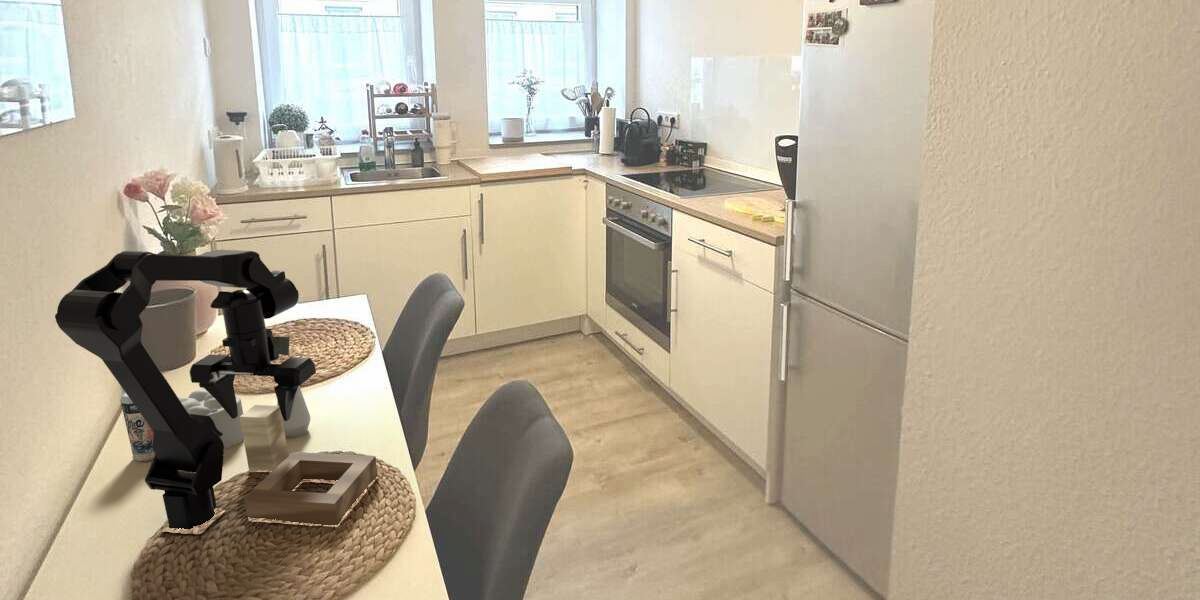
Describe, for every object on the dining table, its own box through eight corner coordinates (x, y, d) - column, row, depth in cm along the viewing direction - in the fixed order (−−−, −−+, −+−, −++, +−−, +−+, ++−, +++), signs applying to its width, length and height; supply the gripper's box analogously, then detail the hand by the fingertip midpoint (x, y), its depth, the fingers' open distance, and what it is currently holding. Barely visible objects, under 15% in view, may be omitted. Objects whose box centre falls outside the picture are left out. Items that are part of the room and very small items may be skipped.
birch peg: (274, 473, 131) (265, 417, 128) (249, 472, 132) (239, 416, 129) (289, 460, 135) (280, 405, 132) (264, 458, 136) (255, 404, 133)
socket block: (337, 528, 115) (334, 503, 114) (248, 522, 117) (243, 498, 116) (378, 478, 128) (375, 456, 127) (296, 473, 131) (293, 451, 129)
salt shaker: (300, 441, 142) (290, 372, 138) (271, 438, 143) (260, 371, 139) (318, 426, 147) (308, 360, 143) (290, 424, 148) (279, 358, 144)
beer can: (129, 465, 135) (114, 399, 132) (137, 452, 140) (122, 388, 136) (161, 460, 136) (147, 395, 133) (167, 447, 141) (154, 384, 137)
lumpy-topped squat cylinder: (169, 437, 145) (159, 393, 142) (246, 423, 150) (239, 380, 147) (164, 463, 136) (154, 416, 133) (247, 447, 140) (239, 401, 138)
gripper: (325, 313, 132) (337, 400, 137) (222, 311, 135) (237, 396, 140) (290, 336, 122) (304, 429, 126) (179, 333, 125) (196, 424, 129)
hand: (260, 418), depth 131 cm, fingers open, 9 cm apart
